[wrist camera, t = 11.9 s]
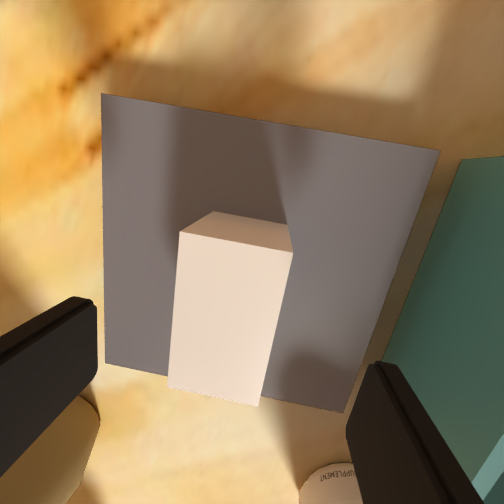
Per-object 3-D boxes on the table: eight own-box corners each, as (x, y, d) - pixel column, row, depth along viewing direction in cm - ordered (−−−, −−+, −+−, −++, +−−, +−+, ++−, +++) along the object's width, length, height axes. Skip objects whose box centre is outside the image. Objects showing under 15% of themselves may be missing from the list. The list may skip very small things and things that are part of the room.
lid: (415, 154, 14) (552, 135, 7) (335, 386, 19) (369, 508, 12) (126, 104, 14) (-9, 42, 8) (123, 342, 19) (40, 434, 13)
